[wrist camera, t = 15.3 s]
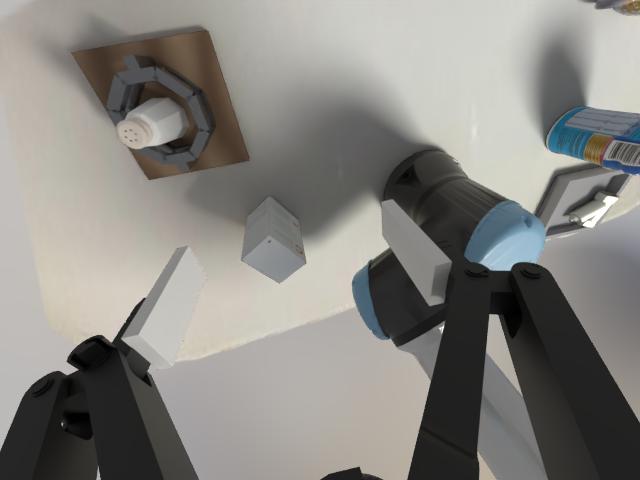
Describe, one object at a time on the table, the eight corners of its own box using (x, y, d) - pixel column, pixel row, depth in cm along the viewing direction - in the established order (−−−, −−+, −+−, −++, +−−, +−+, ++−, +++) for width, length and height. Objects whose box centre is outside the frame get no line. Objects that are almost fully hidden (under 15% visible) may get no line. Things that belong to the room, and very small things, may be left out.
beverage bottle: (577, 95, 42) (765, 111, 26) (596, 119, 45) (772, 146, 29) (535, 140, 46) (677, 178, 30) (555, 159, 49) (693, 202, 33)
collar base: (208, 31, 29) (206, 30, 29) (249, 158, 39) (248, 160, 38) (76, 52, 29) (71, 52, 28) (151, 177, 38) (148, 180, 37)
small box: (246, 216, 45) (239, 260, 34) (269, 194, 43) (269, 233, 33) (277, 239, 49) (279, 285, 39) (299, 220, 47) (307, 263, 37)
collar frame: (189, 50, 29) (177, 47, 25) (227, 153, 37) (222, 164, 33) (104, 65, 29) (77, 64, 25) (161, 166, 36) (147, 178, 32)
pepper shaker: (145, 88, 31) (95, 96, 22) (191, 105, 33) (161, 117, 24) (146, 131, 33) (101, 152, 25) (188, 144, 35) (160, 168, 26)
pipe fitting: (559, 219, 59) (582, 219, 60) (573, 227, 56) (598, 228, 57) (581, 189, 55) (606, 190, 56) (599, 197, 52) (625, 197, 52)
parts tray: (622, 162, 53) (639, 166, 50) (584, 221, 62) (596, 227, 60) (556, 176, 52) (569, 181, 49) (527, 234, 61) (538, 241, 59)
